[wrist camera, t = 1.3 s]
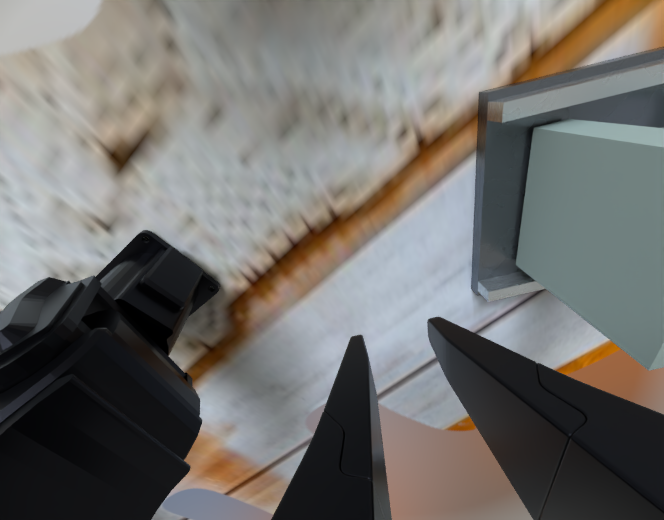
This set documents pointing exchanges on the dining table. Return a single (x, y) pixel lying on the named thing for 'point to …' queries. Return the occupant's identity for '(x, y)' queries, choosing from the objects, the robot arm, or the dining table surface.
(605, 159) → the bar
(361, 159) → the dining table surface
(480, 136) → the vise base
